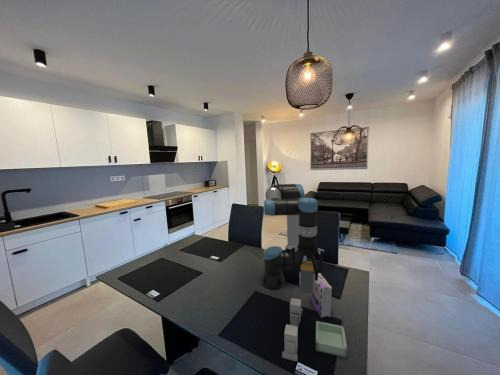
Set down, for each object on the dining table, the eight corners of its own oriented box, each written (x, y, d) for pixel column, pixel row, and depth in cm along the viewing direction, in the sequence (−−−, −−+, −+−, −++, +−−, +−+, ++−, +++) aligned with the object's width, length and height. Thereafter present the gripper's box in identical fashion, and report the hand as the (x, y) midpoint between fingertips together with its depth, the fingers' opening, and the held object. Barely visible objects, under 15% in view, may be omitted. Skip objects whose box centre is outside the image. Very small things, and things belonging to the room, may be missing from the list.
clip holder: (282, 357, 85) (282, 344, 85) (290, 309, 112) (290, 299, 111) (297, 361, 84) (297, 348, 83) (302, 312, 110) (302, 301, 109)
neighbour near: (284, 352, 88) (284, 333, 87) (286, 342, 93) (286, 324, 91) (296, 355, 86) (296, 336, 85) (297, 345, 91) (297, 326, 90)
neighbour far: (290, 320, 105) (289, 304, 104) (291, 313, 109) (291, 297, 108) (300, 322, 103) (300, 306, 102) (301, 315, 108) (301, 299, 107)
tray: (315, 350, 88) (315, 342, 88) (316, 328, 99) (316, 320, 99) (346, 358, 84) (347, 349, 84) (343, 334, 96) (343, 326, 95)
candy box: (310, 299, 120) (310, 273, 117) (320, 299, 120) (320, 272, 118) (320, 318, 106) (320, 288, 104) (331, 317, 106) (332, 287, 104)
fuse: (300, 291, 90) (300, 265, 89) (302, 285, 95) (302, 260, 94) (312, 293, 89) (313, 267, 87) (313, 287, 93) (313, 261, 92)
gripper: (284, 235, 88) (285, 286, 91) (330, 239, 82) (329, 294, 85) (287, 229, 95) (288, 277, 98) (330, 233, 89) (329, 284, 92)
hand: (307, 285), depth 92 cm, fingers closed on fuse, 5 cm apart
